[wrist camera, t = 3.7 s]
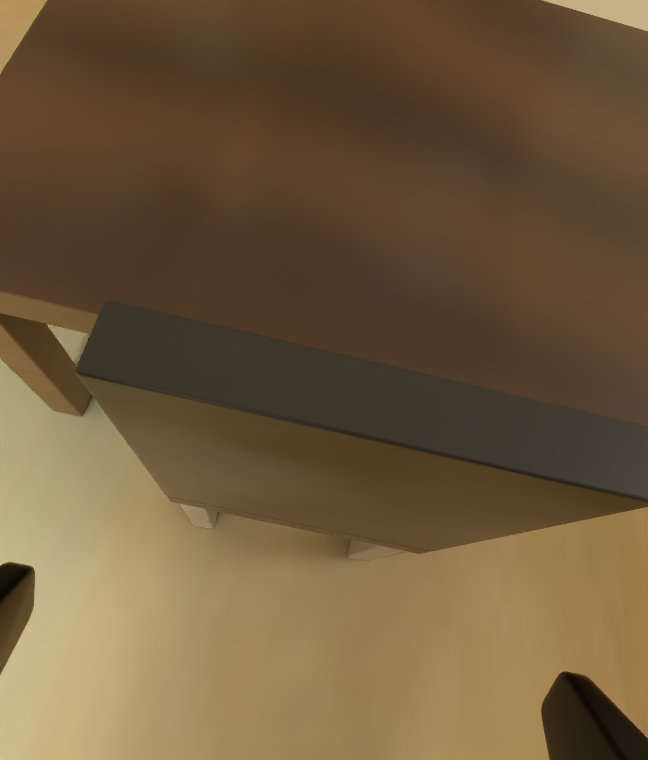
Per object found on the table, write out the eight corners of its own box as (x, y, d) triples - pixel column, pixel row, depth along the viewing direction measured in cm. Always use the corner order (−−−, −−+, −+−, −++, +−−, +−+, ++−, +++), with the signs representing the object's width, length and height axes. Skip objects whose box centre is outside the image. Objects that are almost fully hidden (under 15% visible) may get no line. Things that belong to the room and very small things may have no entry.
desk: (531, 521, 22) (757, 468, 12) (44, 415, 20) (-122, 263, 11) (537, 228, 28) (690, 43, 18) (164, 131, 26) (125, -123, 17)
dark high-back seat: (369, 564, 20) (664, 505, 6) (189, 527, 19) (72, 371, 6) (392, 397, 23) (631, 100, 9) (235, 361, 22) (231, -13, 8)
